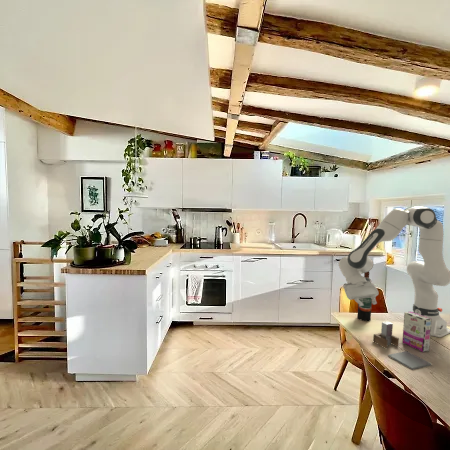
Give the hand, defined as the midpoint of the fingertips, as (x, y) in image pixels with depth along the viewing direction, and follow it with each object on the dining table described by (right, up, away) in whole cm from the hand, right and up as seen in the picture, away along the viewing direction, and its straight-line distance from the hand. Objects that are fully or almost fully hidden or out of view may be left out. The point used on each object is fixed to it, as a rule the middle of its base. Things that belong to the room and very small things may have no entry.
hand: (368, 304), depth 164 cm
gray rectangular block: (+4, -17, -10) cm, 21 cm away
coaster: (+6, -19, -27) cm, 33 cm away
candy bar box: (+18, -18, -12) cm, 28 cm away
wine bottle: (+8, -15, +23) cm, 29 cm away
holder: (+4, -17, -10) cm, 21 cm away
